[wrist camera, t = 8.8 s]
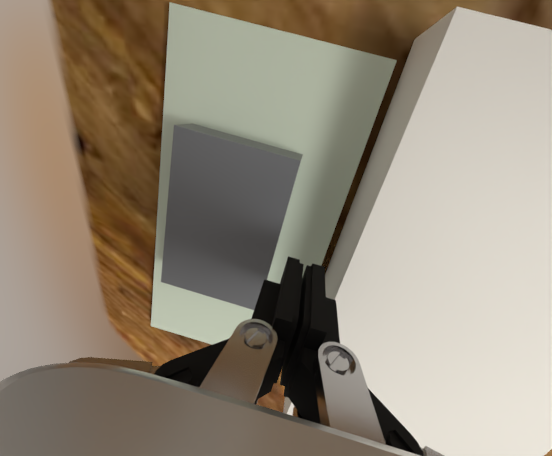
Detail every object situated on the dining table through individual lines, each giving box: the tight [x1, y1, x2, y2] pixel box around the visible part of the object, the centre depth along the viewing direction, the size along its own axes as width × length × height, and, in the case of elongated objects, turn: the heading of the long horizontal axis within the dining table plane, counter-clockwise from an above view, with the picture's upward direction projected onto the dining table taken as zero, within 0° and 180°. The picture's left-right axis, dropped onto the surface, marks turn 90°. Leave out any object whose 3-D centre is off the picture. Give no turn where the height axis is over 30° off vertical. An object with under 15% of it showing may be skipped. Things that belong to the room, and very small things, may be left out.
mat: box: [151, 2, 397, 345], centre depth 16 cm, size 20×10×1 cm, turn 166°
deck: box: [283, 7, 552, 456], centre depth 14 cm, size 22×14×4 cm, turn 166°
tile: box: [161, 123, 303, 310], centre depth 15 cm, size 9×6×2 cm, turn 166°
